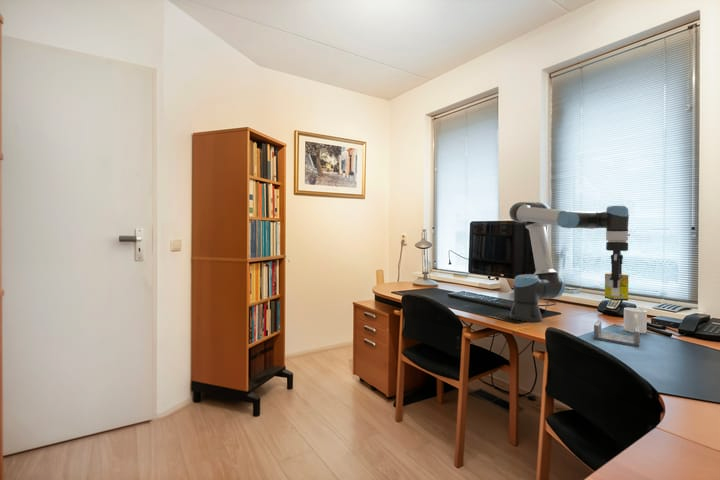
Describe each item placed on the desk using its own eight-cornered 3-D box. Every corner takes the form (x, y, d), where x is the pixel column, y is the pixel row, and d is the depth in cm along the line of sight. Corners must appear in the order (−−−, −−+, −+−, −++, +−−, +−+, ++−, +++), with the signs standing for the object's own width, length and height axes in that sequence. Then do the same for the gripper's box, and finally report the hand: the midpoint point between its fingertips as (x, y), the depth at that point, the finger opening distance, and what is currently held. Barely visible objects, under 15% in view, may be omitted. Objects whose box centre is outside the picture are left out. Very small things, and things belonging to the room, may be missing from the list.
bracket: (593, 338, 144) (594, 325, 144) (597, 332, 153) (597, 319, 153) (638, 346, 134) (639, 332, 134) (639, 339, 143) (640, 326, 143)
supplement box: (628, 300, 140) (629, 274, 140) (614, 300, 141) (614, 274, 140) (618, 298, 146) (618, 273, 146) (604, 298, 146) (604, 273, 146)
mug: (647, 337, 147) (648, 314, 147) (623, 333, 152) (624, 311, 152) (645, 331, 157) (646, 309, 156) (623, 327, 162) (623, 306, 161)
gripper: (626, 241, 133) (625, 298, 133) (629, 241, 148) (629, 292, 149) (603, 241, 138) (602, 296, 138) (608, 241, 153) (608, 290, 154)
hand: (616, 294), depth 143 cm, fingers closed on supplement box, 8 cm apart
